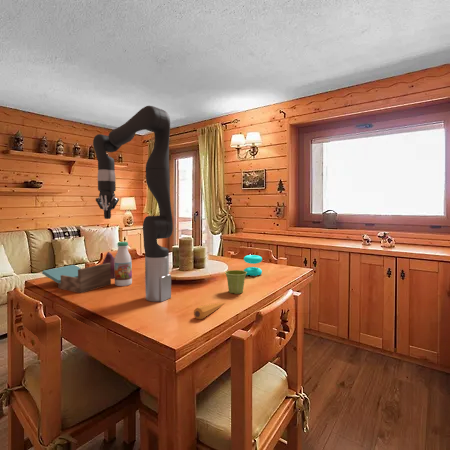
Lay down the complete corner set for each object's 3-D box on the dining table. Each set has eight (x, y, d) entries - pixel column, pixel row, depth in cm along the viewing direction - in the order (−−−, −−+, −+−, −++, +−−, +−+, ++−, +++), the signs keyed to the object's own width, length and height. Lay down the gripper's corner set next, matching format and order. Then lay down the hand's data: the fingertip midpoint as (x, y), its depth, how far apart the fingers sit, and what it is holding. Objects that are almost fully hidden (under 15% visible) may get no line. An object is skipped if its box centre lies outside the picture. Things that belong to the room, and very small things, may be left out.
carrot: (199, 323, 99) (205, 311, 98) (189, 316, 101) (194, 304, 100) (227, 310, 117) (232, 300, 116) (218, 304, 119) (223, 294, 118)
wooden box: (110, 284, 143) (110, 263, 142) (80, 293, 129) (80, 269, 128) (89, 280, 150) (88, 260, 149) (58, 288, 135) (57, 266, 135)
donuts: (243, 254, 169) (261, 254, 169) (243, 272, 170) (261, 272, 169) (244, 257, 159) (263, 257, 159) (243, 276, 160) (262, 276, 159)
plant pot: (221, 290, 134) (221, 270, 133) (240, 288, 138) (240, 269, 137) (230, 296, 125) (230, 275, 125) (250, 293, 129) (250, 273, 129)
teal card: (89, 273, 149) (73, 264, 154) (58, 280, 135) (42, 270, 140) (88, 277, 150) (73, 269, 155) (57, 285, 135) (41, 275, 141)
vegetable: (114, 285, 153) (113, 258, 148) (96, 281, 155) (94, 254, 150) (125, 275, 163) (124, 250, 158) (108, 272, 165) (106, 246, 159)
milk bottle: (111, 284, 143) (110, 242, 141) (126, 281, 149) (126, 240, 147) (119, 287, 138) (119, 243, 136) (135, 284, 143) (134, 242, 142)
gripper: (123, 180, 137) (124, 218, 139) (103, 181, 143) (104, 218, 145) (110, 179, 131) (111, 219, 132) (89, 180, 137) (90, 218, 138)
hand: (107, 218), depth 138 cm, fingers closed
